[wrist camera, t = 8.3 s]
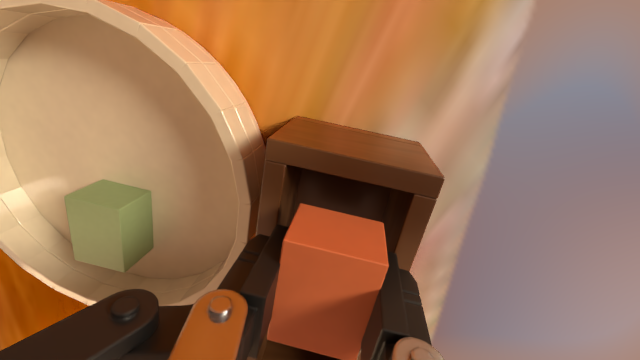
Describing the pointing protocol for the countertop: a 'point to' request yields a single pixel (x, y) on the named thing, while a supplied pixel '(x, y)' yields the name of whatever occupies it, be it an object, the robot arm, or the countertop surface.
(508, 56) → the countertop surface
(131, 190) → the green block
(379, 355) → the robot arm
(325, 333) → the orange rectangular block
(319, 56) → the countertop surface
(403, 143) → the holder
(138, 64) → the bowl
